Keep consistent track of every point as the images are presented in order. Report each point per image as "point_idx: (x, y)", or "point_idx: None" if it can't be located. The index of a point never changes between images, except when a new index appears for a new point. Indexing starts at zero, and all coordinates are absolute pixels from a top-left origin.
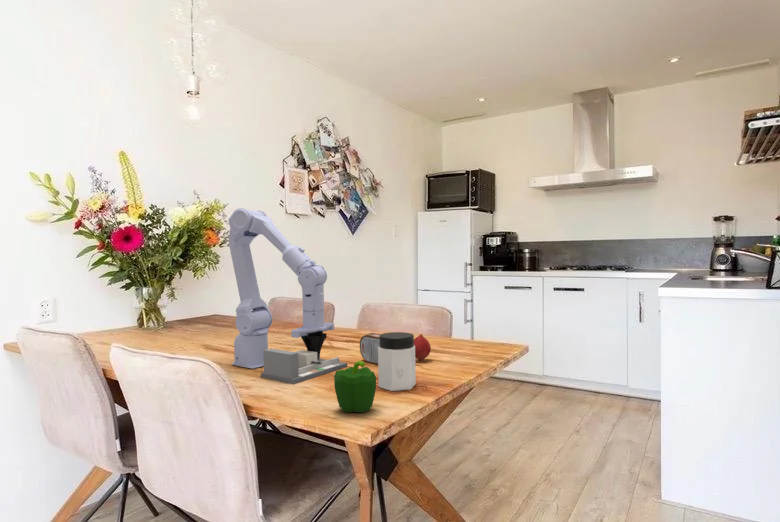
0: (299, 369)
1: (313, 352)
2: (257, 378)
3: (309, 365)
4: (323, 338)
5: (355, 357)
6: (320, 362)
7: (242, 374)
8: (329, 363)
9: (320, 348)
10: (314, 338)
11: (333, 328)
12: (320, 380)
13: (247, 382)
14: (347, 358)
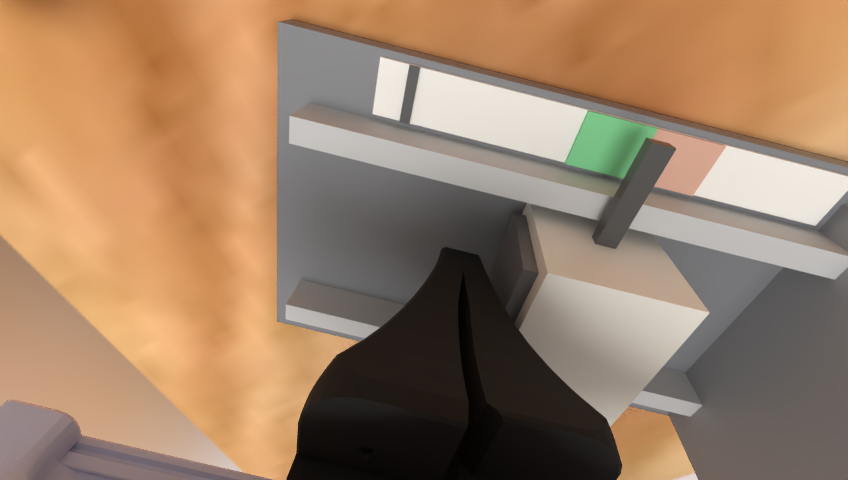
0: (811, 245)
1: (567, 300)
2: None
3: (662, 229)
4: (405, 361)
5: (25, 110)
6: (652, 150)
7: (638, 471)
8: (435, 141)
9: (431, 296)
10: (611, 438)
11: (3, 428)
12: (819, 17)
13: None
14: (94, 156)
